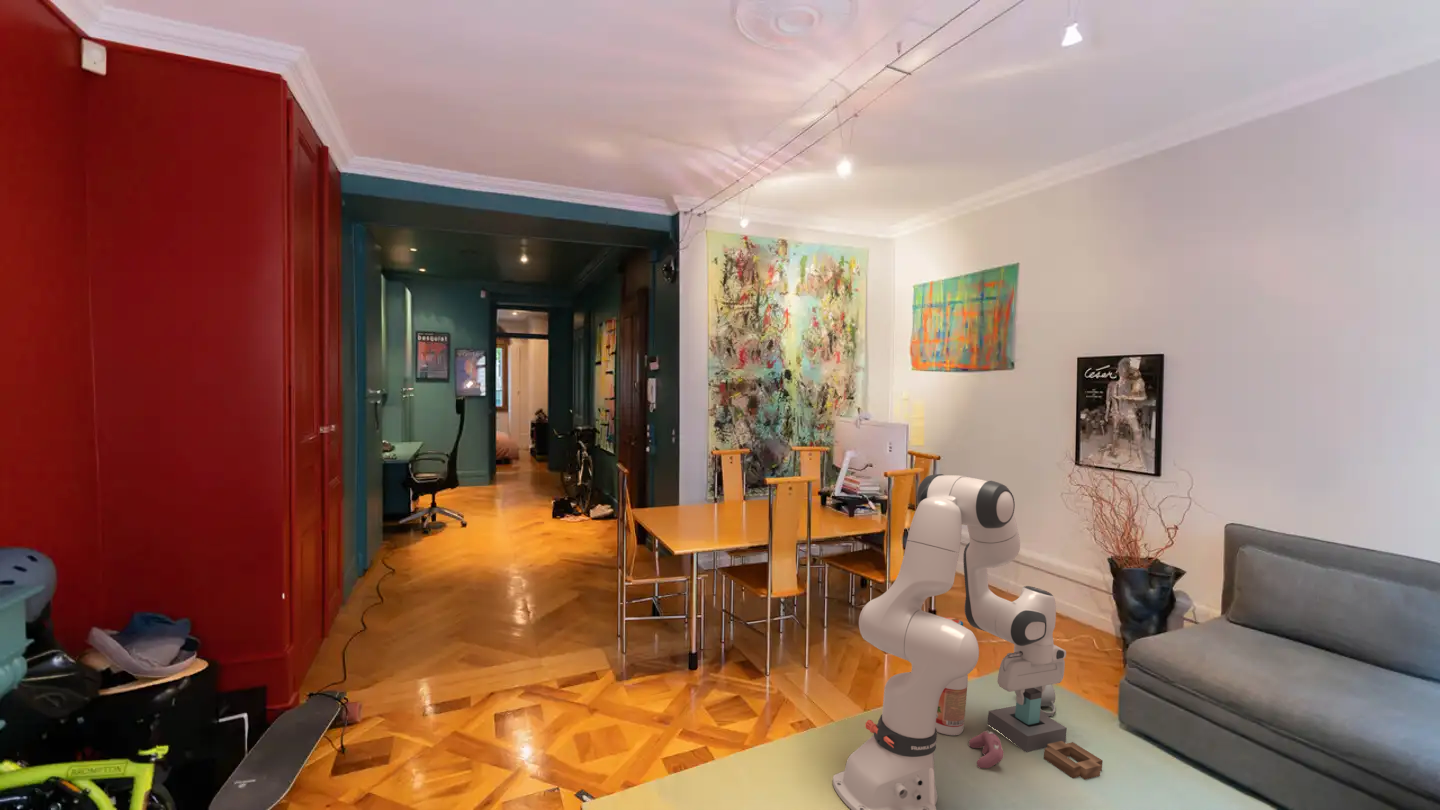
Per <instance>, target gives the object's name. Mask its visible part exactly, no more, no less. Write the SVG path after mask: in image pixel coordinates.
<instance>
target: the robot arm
mask: <svg viewBox="0 0 1440 810" xmlns="http://www.w3.org/2000/svg"><path fill="white" fill-rule="evenodd" d="M916 501H917V508H916V509H915V512H914V515H913V517H912V520H911V523H910V527H909V529H908V530H909V531H908V534H907V539H906V543H905V549H904V554H903V558H902V561H901V565H900V568H899V572H898V574H897V576H896V579H895V580H894V581H893V583H892V584H891V586H890V587H889V588H888V589H887V590H886V591H885V592H884V593H882V594H881V595H879V596H877V597H875V598H873V599H871V600H870V601H868V602H867V603H866V604H865V605H864V606H863V607H862V610H861V611H860V613H859V617H858V628H859V633H860V635H861V637H862V639H863V640H864V641H866V642H867V643H869V644H870V645H872V646H873V647H875V648H877V649H878V650H880V651H883V652H884V653H886V654H890V655H892V656H894V657H898V658H899V659H902V660H905V661H908V662H909V663H910V664H911V671H909V672H906V671H905V672H901V673H897V674H893V676H890V678H888V680H887V681H886V683H885V685H884V689H883V690H884V691H883V703H882V713H881V715H880V717H879V719H878V721H877V724H876V723H875V722H874V721H873V720H872V719H868V720H867V721H866V722H865V724H864V727H865V728H866V729H867V730H868V731H869V732H870V733H871V734H873V735H872V736H871V737H869V738H868V739H867V740H866V741H865V742H864V743H862V745H860V746H859V747H858V748H857V749H855V750H854V751H853V752H852V753H851V754H849V756H848V758H847V761H846V764H845V766H844V767H845V768H844V770H843V771H840V772H838V773H836V774H833V776H832V786H833V788H834V790H835V792H836V794H837V795H838V797H839V798H840V799H841V800H842V802H843V803H844V804H845V805H846V807H848V808H849V809H850V810H937V807H936V805H937V803H938V799H939V796H938V791H937V787H936V777H935V758H934V757H935V756H934V755H935V754H934V753H935V751H936V749H937V743H938V739H937V737H938V732H937V730H936V727H935V725H936V716H937V709H938V704H939V699H940V696H941V694H942V692H943V690H944V689H945V687H946V686H947V685H948V684H949V683H951V682H952V681H954V680H955V679H958V678H961V677H964V676H966V675H967V674H970V673H971V672H972V671H974V669H975V667H976V665H977V664H978V661H979V656H980V648H979V643H978V640H977V639H978V638H977V637H976V636H975V634H974V633H973V631H972V630H970V629H968V628H967V627H965V626H964V625H963V626H962V625H960V624H958V623H956V622H954V621H952V620H950V619H947V617H944V616H942V615H937V614H934V613H931V612H927V611H924V610H923V609H922V608H923V604H924V603H925V601H926V600H927V599H928V598H930V597H935V596H940V595H942V594H946V593H947V592H949V590H951V588H952V587H953V586H954V582H955V577H956V573H957V572H956V571H957V566H958V561H959V554H960V550H961V541H962V529H963V527H962V525H963V526H967V530H968V531H967V532H968V535H969V542H967V544H966V546H965V548H964V550H963V559H962V560H963V561H962V562H963V573H964V574H963V577H964V586H965V587H964V588H965V590H964V591H965V600H964V614H965V617H966V620H967V622H968V624H969V625H970V626H971V627H972V628H974V629H978V630H981V631H983V632H986V633H989V634H991V635H993V636H995V637H997V638H999V639H1002V640H1004V641H1007V642H1009V643H1010V644H1013V647H1014V648H1013V652H1008V653H1006V655H1005V656H1004V657H1003V658H1002V659H1001V663H1000V666H999V670H998V675H997V681H996V682H997V684H998V687H1000V688H1001V689H1003V690H1005V691H1007V692H1014V693H1015V696H1016V699H1015V700H1016V701H1017V703H1018V704H1020V705H1024V704H1026V698H1025V697H1024V695H1023V693H1024V692H1025V689H1028V688H1034V687H1035V689H1037V690H1039V691H1041V692H1042V694H1043V692H1044V690H1045V688H1046V685H1051V684H1052V685H1055V684H1060V683H1062V681H1063V679H1064V676H1065V668H1066V667H1065V666H1066V665H1065V663H1066V661H1065V659H1066V656H1067V651H1066V649H1063V648H1061V647H1059V646H1057V644H1054V637H1053V633H1054V630H1055V628H1056V623H1057V622H1056V620H1057V619H1056V618H1057V605H1056V598H1055V596H1054V595H1053V594H1052V593H1051V592H1050V591H1047V590H1044V589H1041V588H1037V587H1035V586H1034V587H1033V586H1030V585H1026V586H1022V588H1021V591H1020V595H1019V597H1018V598H1017V599H1015V600H1012V601H1011V600H1008V599H1006V598H1003V597H1001V596H998V595H996V594H995V593H994V592H993V591H992V590H991V589H990V588H989V578H988V577H989V576H988V575H989V574H988V569H989V568H990V569H993V568H999V567H1003V566H1006V565H1008V564H1009V563H1011V562H1012V561H1014V560H1015V559H1016V558H1017V556H1018V555H1019V552H1020V551H1021V539H1020V533H1019V528H1018V526H1017V522H1016V518H1015V514H1014V513H1015V497H1014V495H1013V494H1012V492H1011V490H1010V488H1008V486H1006V485H1004V484H1003V483H1000V482H997V481H994V480H985V479H981V478H976V477H975V478H974V477H969V476H966V475H958V474H956V475H955V474H952V475H951V474H946V475H945V474H942V473H938V474H937V473H936V474H932V475H931V474H930V475H927V476H926V477H925V478H923V480H922V481H921V482H920V484H919V485H918V488H917V492H916ZM1016 701H1015V702H1016Z"/></svg>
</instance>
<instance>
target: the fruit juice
mask: <svg viewBox="0 0 1440 810" xmlns="http://www.w3.org/2000/svg"><path fill="white" fill-rule="evenodd" d="M946 618H947V619H950V620H952V621H954V622H956V623H958V624H960V625H962V626H964V622H963V621H962V620H960V619H958V618H955V617H949V616H947V617H946ZM968 682H969V675H968V674H967V675H966V676H964V677H961V678H958V679H955V680H954V681H952V682H951V683H949V684H948V685H947V686H946V687H945V689H944V690H943V692H942V694H941V696H940V699H939V704H938V709H937V716H936V725H935V727H936V730H937V733H940V734H942V735H947V736H959V735H961V734H962V733H963V731H964V727H965V718H966V705H967V696H968V695H967V692H968V686H969V683H968Z"/></svg>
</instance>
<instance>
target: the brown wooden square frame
mask: <svg viewBox="0 0 1440 810" xmlns="http://www.w3.org/2000/svg"><path fill="white" fill-rule="evenodd" d="M1043 749H1044V751H1043V760H1045V761H1046V762H1048V763H1049V764H1051V765H1053V767H1055V768H1057V769H1058V770H1060V771H1061V772H1062V773H1064V774H1066V775H1067V776H1068V777H1070V778H1072V779H1076V778H1081V779H1083V780H1085V781H1087V780H1090V779H1093V778H1096V777H1100V776H1101V772H1102V769H1103V759H1101V758H1100V757H1098V756H1097V755H1094V753H1091V752H1089V751H1088V750H1087V749H1085V748H1083V747H1081V746H1080V745H1078V744H1077V743H1075V742H1073V741H1072V742H1067V743H1064V742H1063V741H1059V742H1054V743H1050V744H1047V748H1043ZM1070 758H1071V759H1070ZM1074 760H1075V761H1076V762H1075V761H1074Z"/></svg>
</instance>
